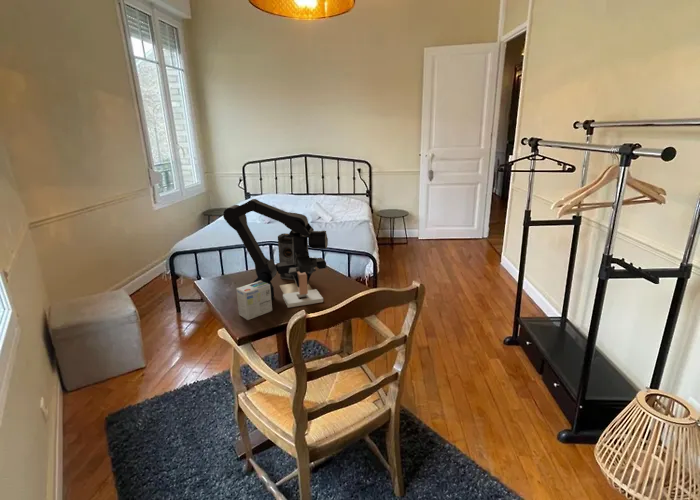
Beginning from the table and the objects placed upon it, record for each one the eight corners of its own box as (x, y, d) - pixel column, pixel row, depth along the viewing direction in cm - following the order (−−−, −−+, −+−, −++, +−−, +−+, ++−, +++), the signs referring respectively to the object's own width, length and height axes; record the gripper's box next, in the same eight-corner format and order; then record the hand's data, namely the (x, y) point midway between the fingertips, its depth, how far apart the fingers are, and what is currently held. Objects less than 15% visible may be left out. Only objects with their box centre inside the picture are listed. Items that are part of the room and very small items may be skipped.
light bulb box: (262, 305, 147) (260, 279, 144) (273, 311, 143) (271, 284, 140) (237, 315, 140) (235, 287, 137) (248, 320, 136) (245, 292, 132)
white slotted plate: (287, 307, 145) (287, 304, 145) (282, 297, 154) (282, 294, 154) (323, 301, 150) (323, 298, 150) (316, 292, 159) (316, 289, 159)
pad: (284, 295, 157) (284, 293, 156) (279, 286, 166) (279, 285, 165) (312, 291, 161) (312, 289, 160) (306, 282, 170) (306, 281, 169)
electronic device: (279, 278, 175) (276, 236, 169) (284, 274, 180) (282, 233, 174) (297, 280, 172) (295, 237, 166) (303, 276, 177) (301, 234, 172)
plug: (300, 294, 149) (299, 275, 147) (297, 290, 153) (296, 271, 150) (307, 293, 150) (306, 274, 148) (304, 289, 154) (304, 270, 151)
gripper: (280, 257, 136) (282, 297, 140) (330, 251, 142) (331, 290, 146) (274, 248, 146) (277, 286, 150) (321, 243, 152) (322, 280, 156)
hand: (302, 286), depth 151 cm, fingers closed on plug, 3 cm apart
